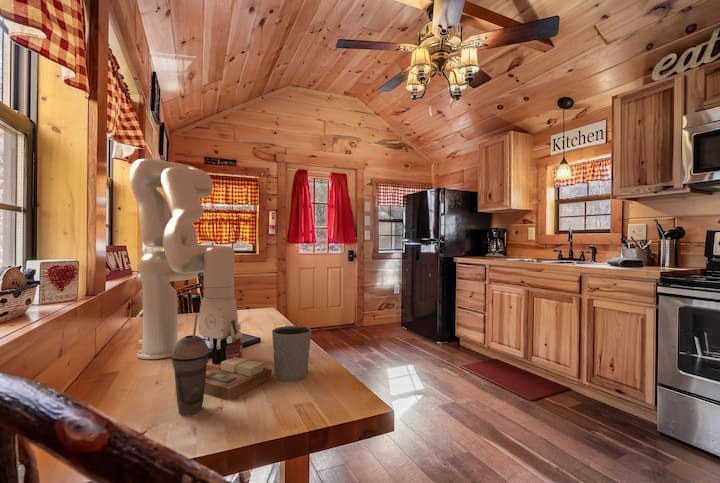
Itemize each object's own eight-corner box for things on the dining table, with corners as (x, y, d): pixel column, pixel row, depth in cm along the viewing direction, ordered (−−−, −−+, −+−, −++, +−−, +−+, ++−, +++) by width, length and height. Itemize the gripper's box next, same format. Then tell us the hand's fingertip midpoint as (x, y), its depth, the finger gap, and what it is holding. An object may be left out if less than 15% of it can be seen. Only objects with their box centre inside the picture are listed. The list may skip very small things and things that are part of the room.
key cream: (220, 369, 95) (220, 361, 95) (234, 364, 99) (234, 357, 99) (233, 372, 93) (233, 364, 93) (247, 367, 97) (247, 359, 97)
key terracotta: (205, 371, 97) (205, 363, 97) (219, 366, 101) (219, 358, 101) (218, 374, 95) (218, 366, 95) (231, 369, 99) (231, 361, 99)
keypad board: (175, 385, 91) (175, 372, 91) (221, 367, 104) (221, 356, 104) (229, 400, 83) (229, 386, 83) (271, 379, 95) (271, 367, 95)
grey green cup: (264, 379, 95) (264, 332, 95) (285, 366, 105) (285, 323, 105) (299, 384, 92) (299, 336, 92) (317, 371, 101) (318, 327, 101)
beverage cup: (179, 403, 81) (179, 311, 81) (213, 402, 82) (214, 311, 82) (164, 419, 74) (164, 318, 74) (202, 418, 75) (202, 318, 75)
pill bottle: (245, 364, 106) (245, 324, 106) (222, 368, 103) (222, 327, 103) (238, 358, 112) (239, 320, 112) (217, 362, 108) (217, 323, 108)
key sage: (236, 373, 92) (236, 365, 92) (249, 368, 96) (249, 360, 96) (250, 376, 90) (250, 368, 90) (263, 371, 94) (263, 363, 94)
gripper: (187, 292, 98) (187, 362, 98) (228, 297, 91) (228, 372, 92) (210, 289, 105) (210, 354, 105) (250, 293, 98) (250, 363, 98)
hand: (219, 362), depth 98 cm, fingers closed
